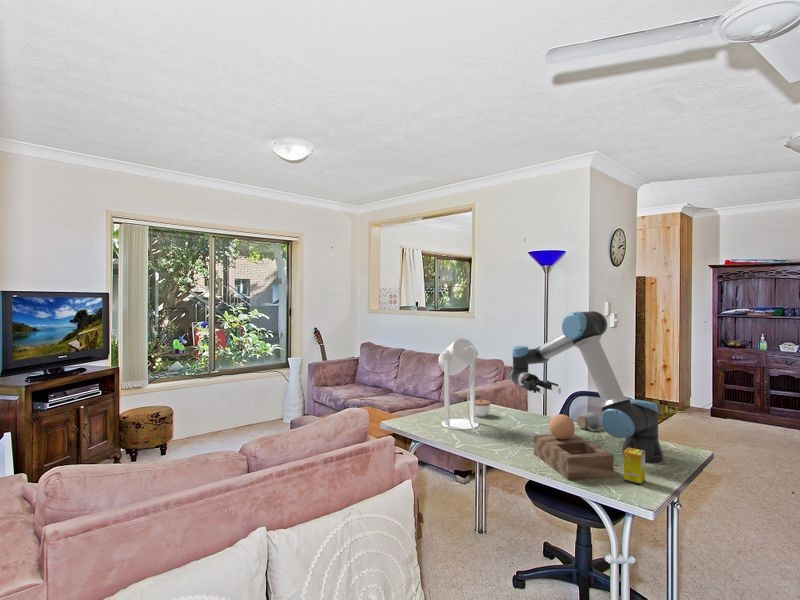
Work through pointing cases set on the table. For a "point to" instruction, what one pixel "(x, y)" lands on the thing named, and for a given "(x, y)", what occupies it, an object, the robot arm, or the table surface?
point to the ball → (561, 426)
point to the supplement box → (634, 466)
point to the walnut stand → (574, 457)
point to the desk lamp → (452, 364)
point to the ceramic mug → (588, 421)
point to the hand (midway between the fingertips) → (551, 391)
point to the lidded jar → (482, 407)
